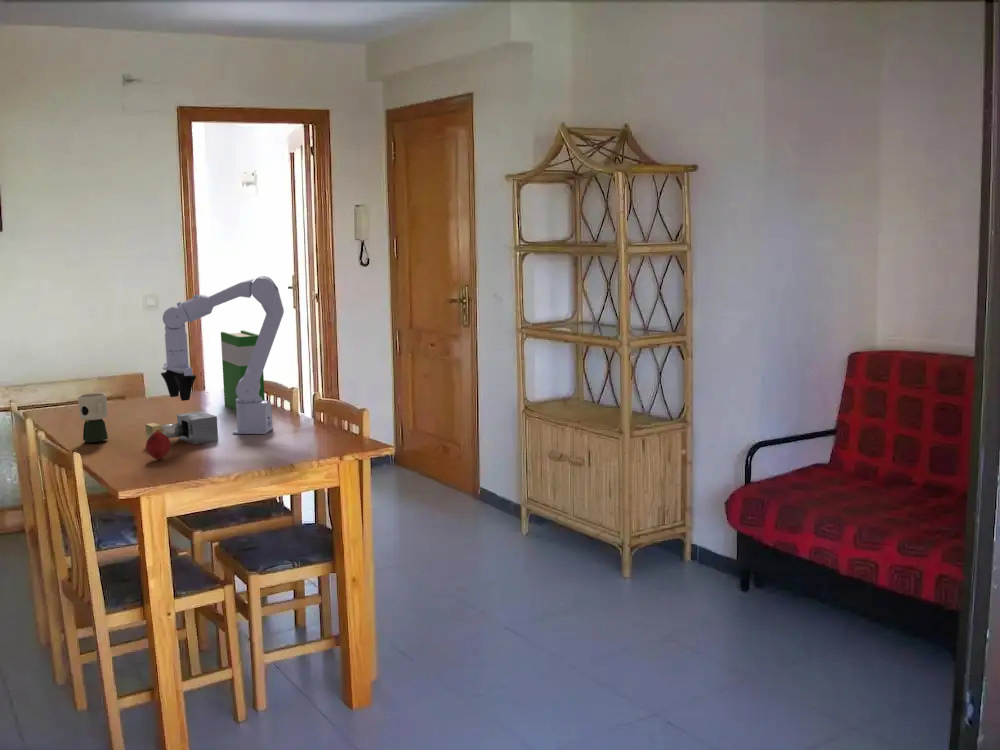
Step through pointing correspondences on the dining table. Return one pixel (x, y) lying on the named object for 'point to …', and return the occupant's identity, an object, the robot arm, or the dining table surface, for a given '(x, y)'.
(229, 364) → the hardback book
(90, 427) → the character mug
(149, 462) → the dining table surface
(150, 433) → the end cover
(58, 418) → the dining table surface
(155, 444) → the onion
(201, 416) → the housing
